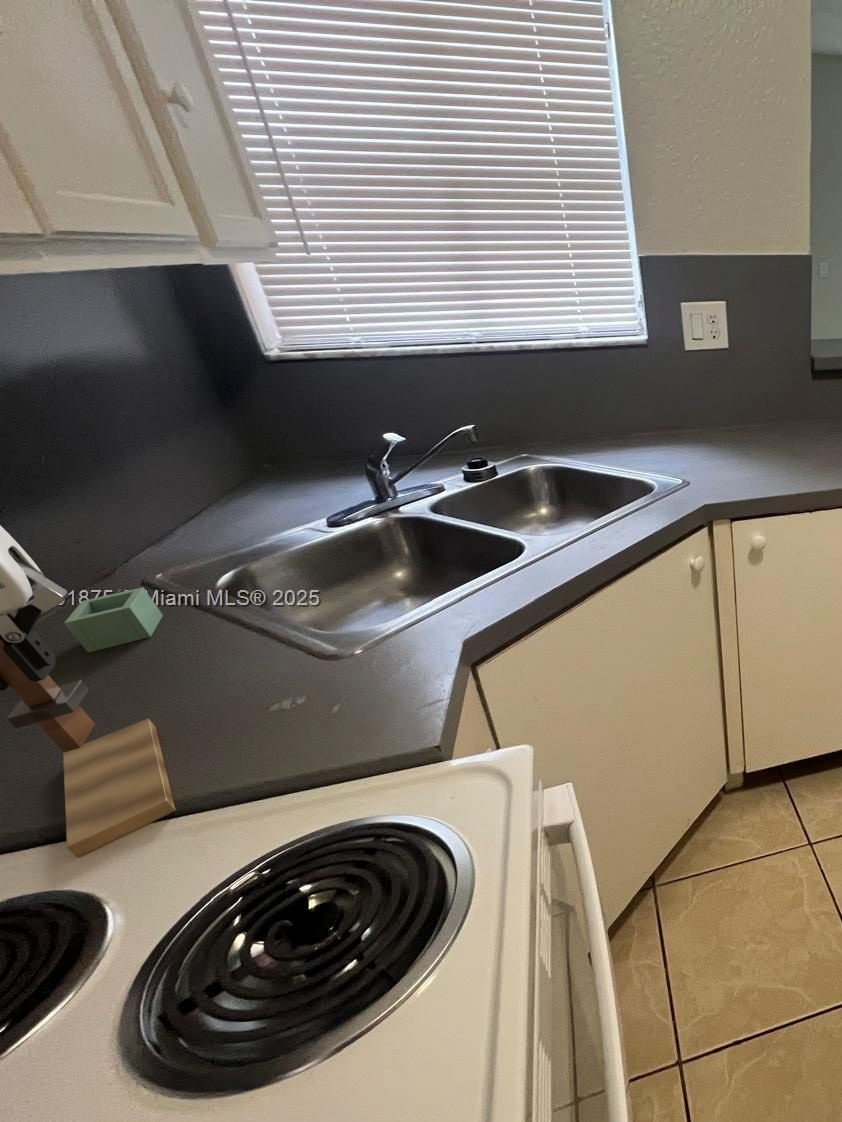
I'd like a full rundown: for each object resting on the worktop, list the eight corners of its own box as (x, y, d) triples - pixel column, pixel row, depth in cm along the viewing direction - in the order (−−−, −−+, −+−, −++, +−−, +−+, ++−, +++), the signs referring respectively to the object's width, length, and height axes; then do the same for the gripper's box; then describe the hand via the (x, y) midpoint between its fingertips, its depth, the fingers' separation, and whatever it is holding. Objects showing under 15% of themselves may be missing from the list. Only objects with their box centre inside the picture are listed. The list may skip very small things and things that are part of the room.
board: (72, 762, 68) (62, 752, 67) (156, 727, 72) (148, 718, 71) (77, 858, 57) (66, 847, 56) (176, 811, 61) (167, 800, 60)
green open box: (87, 653, 86) (63, 623, 84) (103, 630, 91) (81, 600, 89) (151, 637, 89) (129, 607, 86) (163, 615, 94) (143, 586, 92)
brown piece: (44, 759, 59) (-64, 646, 52) (60, 733, 62) (-39, 624, 55) (100, 742, 60) (3, 630, 54) (113, 718, 63) (23, 610, 57)
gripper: (-354, 532, 41) (-125, 736, 51) (-22, 478, 48) (127, 669, 58) (-267, 497, 47) (-75, 687, 57) (20, 453, 54) (149, 631, 63)
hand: (25, 677), depth 57 cm, fingers closed on brown piece
